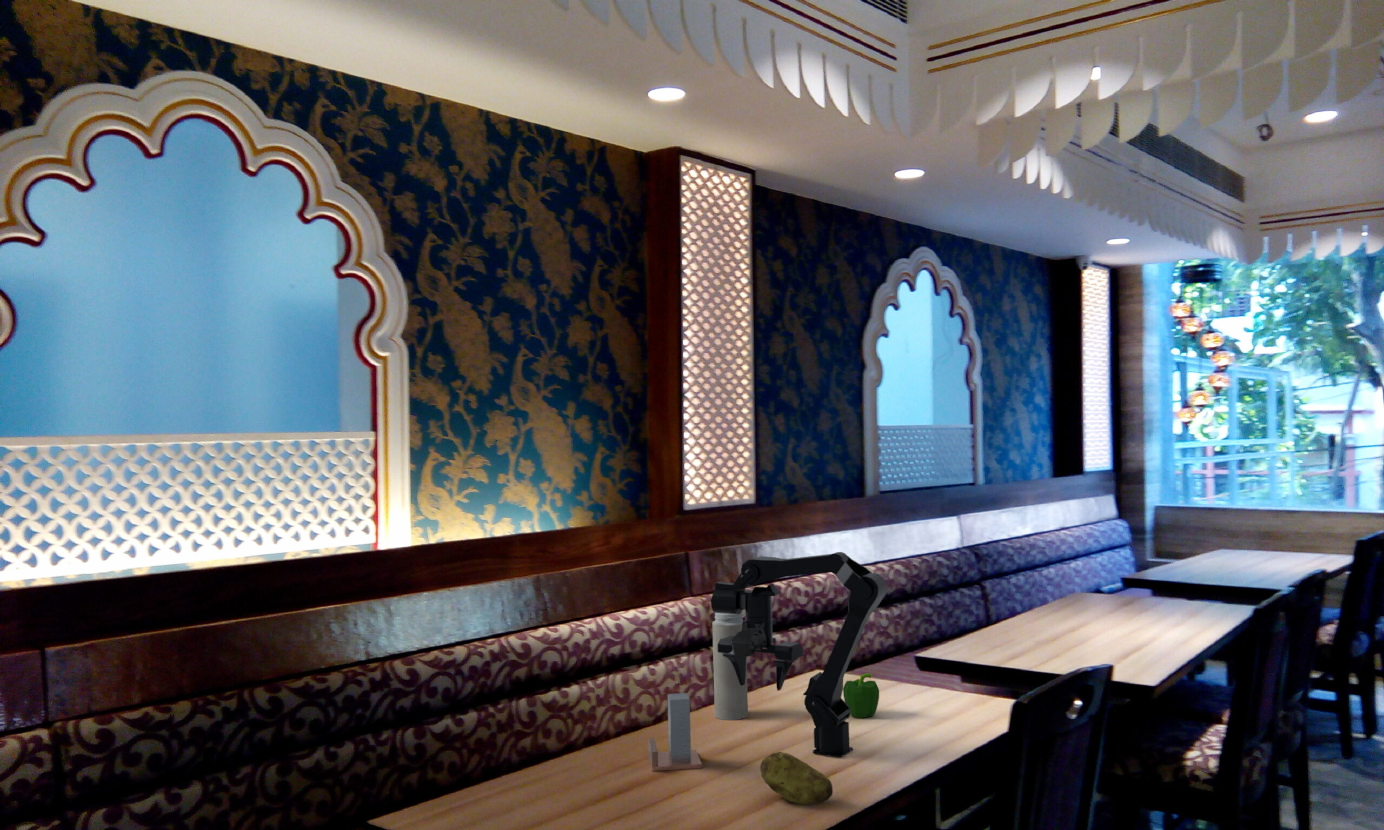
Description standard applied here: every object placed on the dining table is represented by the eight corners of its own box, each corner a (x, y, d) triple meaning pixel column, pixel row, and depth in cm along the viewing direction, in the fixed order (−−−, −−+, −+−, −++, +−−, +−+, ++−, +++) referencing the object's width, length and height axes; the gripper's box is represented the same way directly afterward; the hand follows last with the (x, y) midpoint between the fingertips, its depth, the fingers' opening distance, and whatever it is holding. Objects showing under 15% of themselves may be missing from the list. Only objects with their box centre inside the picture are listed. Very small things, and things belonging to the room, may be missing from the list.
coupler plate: (695, 753, 214) (695, 734, 214) (702, 767, 204) (701, 748, 204) (648, 755, 213) (648, 737, 213) (652, 770, 203) (652, 751, 203)
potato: (810, 814, 177) (809, 768, 177) (753, 798, 186) (752, 754, 186) (838, 801, 183) (836, 756, 183) (782, 786, 192) (780, 743, 192)
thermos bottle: (722, 709, 248) (719, 595, 249) (752, 712, 245) (749, 596, 246) (709, 718, 241) (706, 599, 242) (740, 721, 238) (737, 601, 239)
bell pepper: (838, 717, 239) (836, 674, 239) (851, 709, 246) (850, 668, 246) (871, 722, 234) (870, 678, 235) (884, 713, 241) (883, 671, 242)
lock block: (688, 753, 211) (686, 692, 211) (691, 760, 206) (689, 698, 207) (669, 754, 211) (667, 693, 211) (671, 761, 206) (670, 699, 206)
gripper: (702, 617, 219) (704, 690, 219) (777, 624, 209) (779, 701, 208) (730, 610, 228) (731, 679, 228) (803, 616, 218) (805, 689, 217)
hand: (760, 687), depth 220 cm, fingers open, 9 cm apart
